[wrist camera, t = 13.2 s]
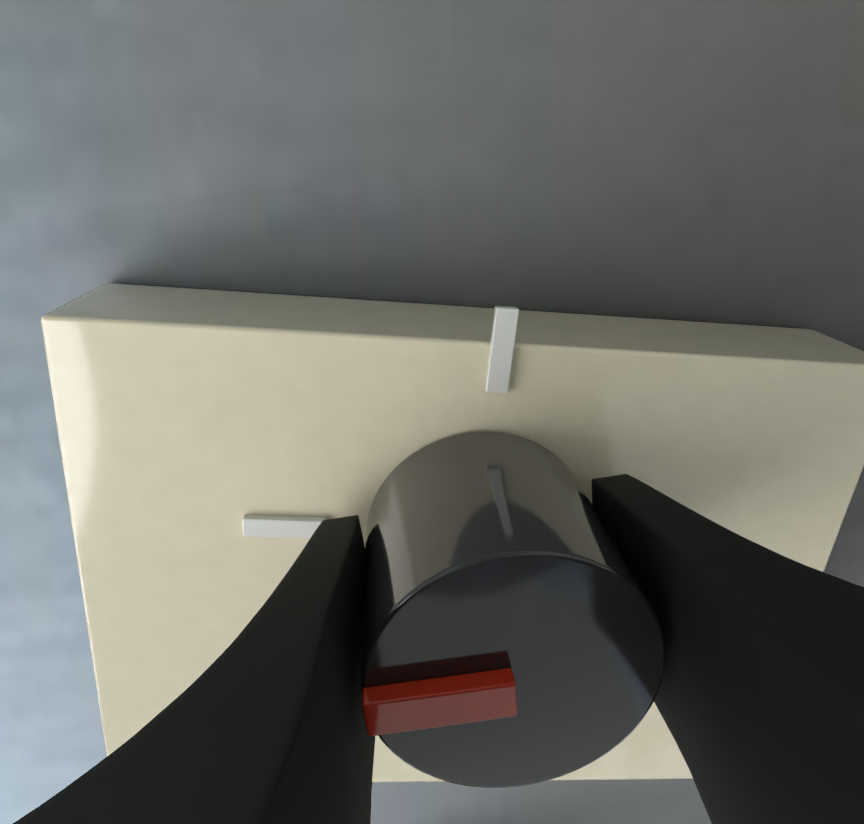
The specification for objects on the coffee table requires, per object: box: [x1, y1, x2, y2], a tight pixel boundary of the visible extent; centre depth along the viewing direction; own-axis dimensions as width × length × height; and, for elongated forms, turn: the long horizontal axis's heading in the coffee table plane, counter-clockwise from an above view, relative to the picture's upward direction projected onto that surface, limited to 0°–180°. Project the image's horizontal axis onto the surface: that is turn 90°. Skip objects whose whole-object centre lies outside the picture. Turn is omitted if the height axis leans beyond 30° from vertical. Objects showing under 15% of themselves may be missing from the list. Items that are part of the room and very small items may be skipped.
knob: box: [360, 431, 666, 788], centre depth 10 cm, size 4×4×4 cm
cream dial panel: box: [41, 283, 864, 782], centre depth 13 cm, size 14×11×3 cm
